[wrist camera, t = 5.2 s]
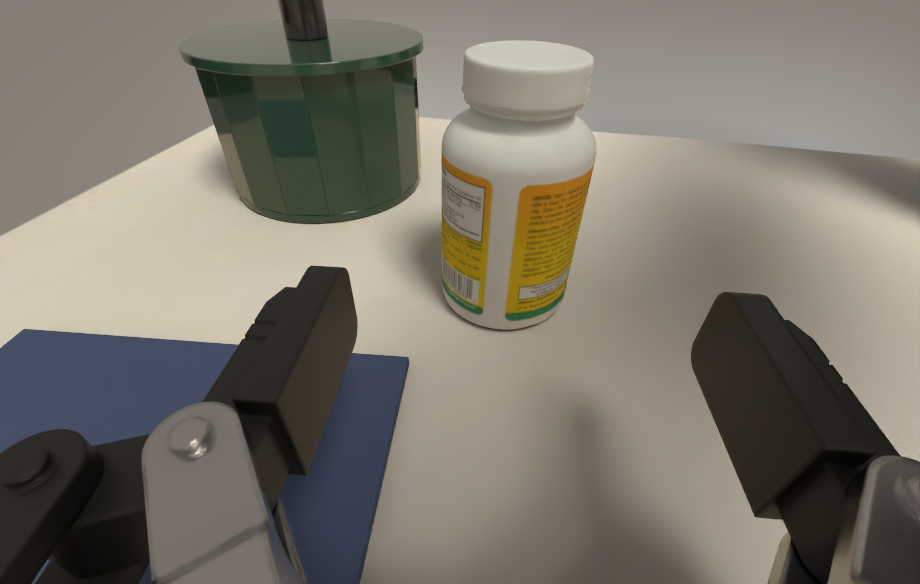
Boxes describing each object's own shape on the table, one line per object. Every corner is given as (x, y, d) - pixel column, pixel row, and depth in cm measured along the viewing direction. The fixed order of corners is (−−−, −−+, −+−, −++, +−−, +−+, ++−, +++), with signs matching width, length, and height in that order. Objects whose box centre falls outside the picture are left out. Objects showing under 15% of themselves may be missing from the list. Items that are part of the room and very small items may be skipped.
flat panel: (29, 335, 17) (23, 328, 17) (409, 363, 16) (408, 356, 16) (-529, 809, 8) (-563, 809, 8) (281, 930, 7) (275, 934, 7)
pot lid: (343, 31, 30) (336, -24, 28) (470, 62, 24) (472, -7, 22) (151, 57, 24) (124, -12, 22) (254, 110, 17) (229, 18, 15)
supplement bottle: (427, 321, 18) (415, 65, 12) (458, 250, 22) (461, 32, 16) (559, 345, 17) (620, 81, 11) (566, 266, 21) (614, 41, 15)
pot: (355, 134, 34) (340, 23, 29) (455, 180, 28) (457, 50, 23) (209, 177, 28) (159, 45, 23) (298, 247, 22) (256, 89, 17)
